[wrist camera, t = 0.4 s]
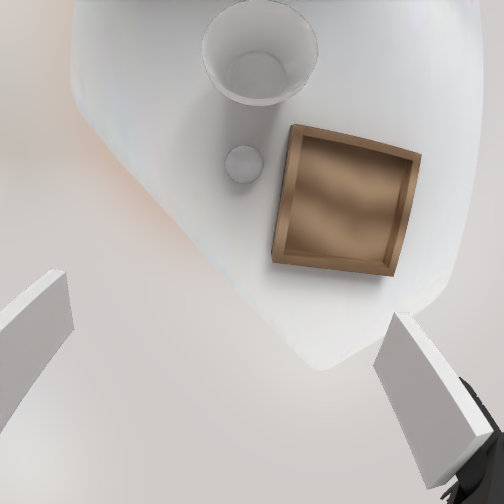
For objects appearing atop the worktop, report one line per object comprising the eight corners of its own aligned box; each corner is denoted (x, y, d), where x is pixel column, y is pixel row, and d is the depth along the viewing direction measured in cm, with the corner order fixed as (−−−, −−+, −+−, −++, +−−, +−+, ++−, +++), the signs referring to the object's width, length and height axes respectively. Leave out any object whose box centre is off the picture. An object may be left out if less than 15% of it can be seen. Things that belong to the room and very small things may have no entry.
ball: (228, 143, 33) (226, 143, 30) (264, 148, 34) (266, 148, 30) (224, 178, 35) (221, 182, 31) (259, 183, 35) (261, 188, 31)
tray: (291, 125, 33) (294, 124, 30) (409, 152, 34) (421, 154, 31) (271, 253, 38) (272, 262, 35) (384, 267, 38) (393, 276, 36)
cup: (311, 94, 32) (341, 72, 20) (240, 129, 33) (235, 122, 22) (272, 30, 29) (282, -17, 18) (201, 64, 30) (179, 29, 19)
